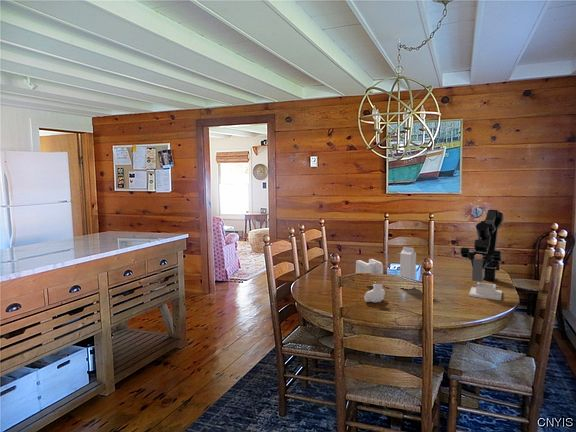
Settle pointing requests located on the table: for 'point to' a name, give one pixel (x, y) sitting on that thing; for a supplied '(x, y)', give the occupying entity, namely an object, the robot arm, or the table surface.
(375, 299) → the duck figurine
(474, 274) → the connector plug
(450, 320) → the table surface
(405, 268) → the milk
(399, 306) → the table surface
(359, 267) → the cable organizer
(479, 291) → the end holder
